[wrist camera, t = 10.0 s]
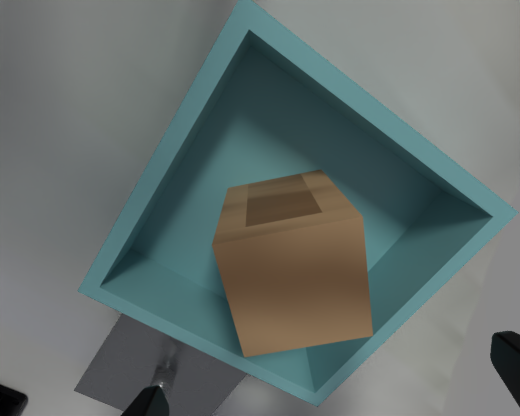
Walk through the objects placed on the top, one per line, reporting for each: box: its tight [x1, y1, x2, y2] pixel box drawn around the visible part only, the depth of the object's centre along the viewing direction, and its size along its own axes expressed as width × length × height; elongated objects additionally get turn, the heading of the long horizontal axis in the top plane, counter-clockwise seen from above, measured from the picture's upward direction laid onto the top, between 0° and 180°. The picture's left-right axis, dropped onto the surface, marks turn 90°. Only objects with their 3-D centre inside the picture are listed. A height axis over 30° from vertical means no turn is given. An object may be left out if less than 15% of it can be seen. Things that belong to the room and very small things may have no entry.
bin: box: [78, 0, 518, 407], centre depth 17 cm, size 15×15×5 cm
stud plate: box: [74, 313, 247, 416], centre depth 21 cm, size 10×10×5 cm
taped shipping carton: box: [212, 169, 373, 357], centre depth 15 cm, size 5×5×7 cm
